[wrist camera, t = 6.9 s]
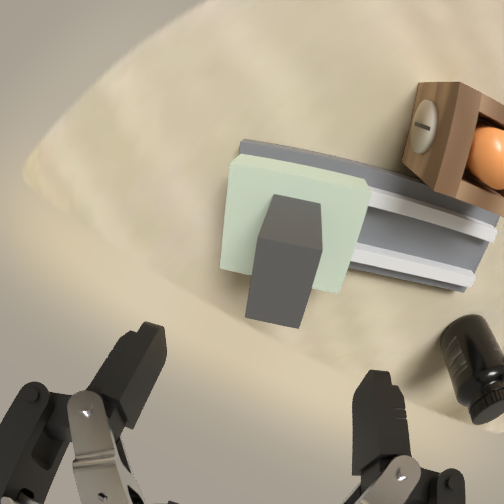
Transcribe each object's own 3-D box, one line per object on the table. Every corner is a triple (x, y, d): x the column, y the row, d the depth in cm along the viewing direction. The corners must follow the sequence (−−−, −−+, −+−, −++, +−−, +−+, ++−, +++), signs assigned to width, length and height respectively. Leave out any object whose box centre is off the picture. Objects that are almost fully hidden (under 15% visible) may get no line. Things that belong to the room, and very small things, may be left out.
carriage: (364, 179, 20) (394, 235, 12) (336, 271, 24) (341, 355, 16) (240, 153, 21) (196, 194, 13) (229, 248, 25) (192, 323, 17)
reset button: (496, 132, 15) (526, 143, 11) (484, 178, 17) (511, 196, 13) (458, 113, 15) (486, 120, 12) (446, 162, 17) (471, 178, 14)
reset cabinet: (494, 117, 17) (545, 132, 11) (475, 188, 21) (518, 223, 15) (412, 80, 18) (452, 78, 12) (395, 160, 22) (426, 188, 15)
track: (493, 206, 21) (507, 218, 19) (459, 284, 26) (468, 299, 24) (244, 139, 23) (236, 144, 21) (232, 235, 28) (225, 249, 26)
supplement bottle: (452, 359, 31) (472, 435, 21) (430, 336, 30) (453, 422, 20) (492, 329, 28) (524, 403, 17) (475, 302, 26) (513, 384, 16)
